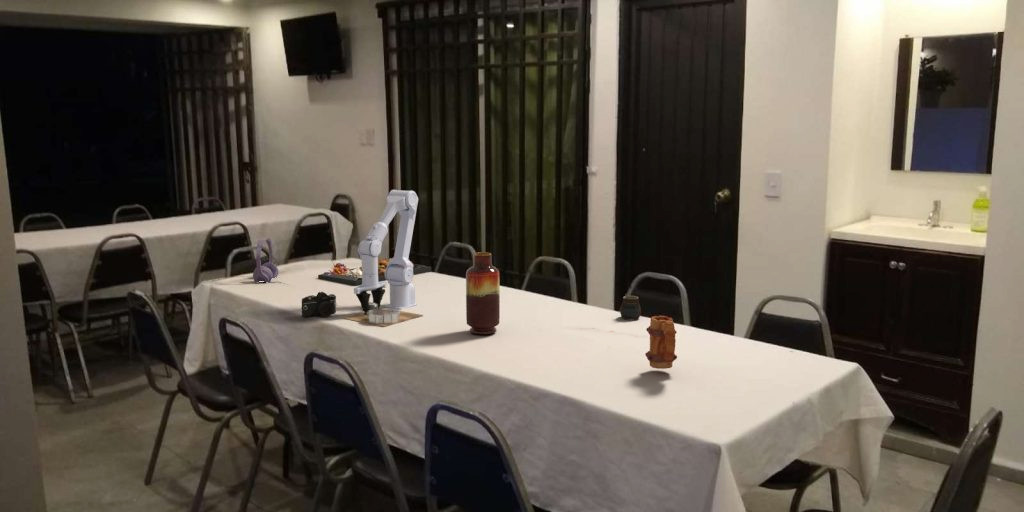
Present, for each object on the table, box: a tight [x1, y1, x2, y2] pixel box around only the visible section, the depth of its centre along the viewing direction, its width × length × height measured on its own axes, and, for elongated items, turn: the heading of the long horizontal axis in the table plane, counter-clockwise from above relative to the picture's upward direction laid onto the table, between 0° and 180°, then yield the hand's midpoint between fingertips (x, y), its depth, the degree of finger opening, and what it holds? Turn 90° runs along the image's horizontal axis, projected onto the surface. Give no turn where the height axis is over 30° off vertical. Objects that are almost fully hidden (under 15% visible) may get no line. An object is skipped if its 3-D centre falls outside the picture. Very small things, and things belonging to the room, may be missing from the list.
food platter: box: [317, 257, 432, 287], centre depth 366 cm, size 45×25×10 cm, turn 142°
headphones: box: [252, 237, 279, 283], centre depth 357 cm, size 18×8×20 cm, turn 179°
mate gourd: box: [619, 293, 642, 320], centre depth 289 cm, size 7×8×10 cm
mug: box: [645, 315, 678, 370], centre depth 229 cm, size 15×8×15 cm, turn 5°
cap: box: [363, 302, 378, 315], centre depth 298 cm, size 5×5×4 cm
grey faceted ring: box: [367, 307, 401, 324], centre depth 287 cm, size 11×11×3 cm
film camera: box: [301, 291, 338, 318], centre depth 293 cm, size 13×8×10 cm, turn 130°
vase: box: [465, 251, 501, 335], centre depth 272 cm, size 11×11×26 cm
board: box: [342, 310, 424, 328], centre depth 293 cm, size 20×20×1 cm
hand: (371, 310), depth 298 cm, fingers closed on cap, 5 cm apart
